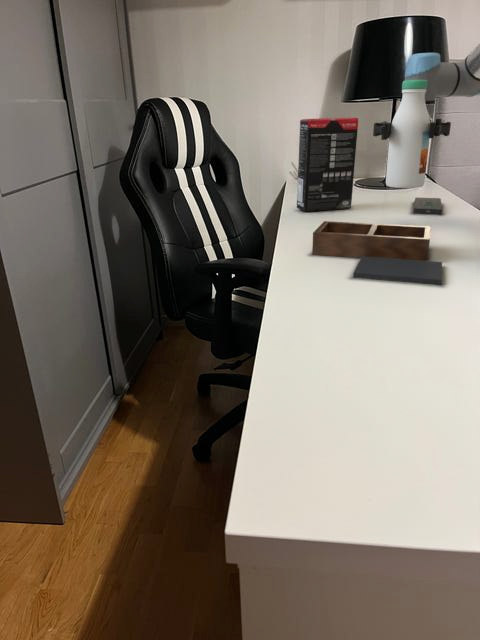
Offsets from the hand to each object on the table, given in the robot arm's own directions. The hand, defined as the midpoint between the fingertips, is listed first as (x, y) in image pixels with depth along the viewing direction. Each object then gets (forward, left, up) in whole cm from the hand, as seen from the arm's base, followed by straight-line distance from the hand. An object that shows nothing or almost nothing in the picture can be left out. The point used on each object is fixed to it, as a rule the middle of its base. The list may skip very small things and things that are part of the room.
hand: (408, 131), depth 96 cm
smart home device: (-5, -63, -26) cm, 69 cm away
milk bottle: (0, -5, -11) cm, 12 cm away
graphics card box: (+26, -54, -26) cm, 65 cm away
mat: (-1, +7, -26) cm, 27 cm away
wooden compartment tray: (+6, -7, -26) cm, 27 cm away
